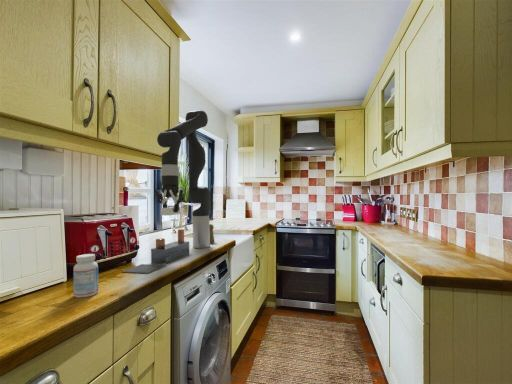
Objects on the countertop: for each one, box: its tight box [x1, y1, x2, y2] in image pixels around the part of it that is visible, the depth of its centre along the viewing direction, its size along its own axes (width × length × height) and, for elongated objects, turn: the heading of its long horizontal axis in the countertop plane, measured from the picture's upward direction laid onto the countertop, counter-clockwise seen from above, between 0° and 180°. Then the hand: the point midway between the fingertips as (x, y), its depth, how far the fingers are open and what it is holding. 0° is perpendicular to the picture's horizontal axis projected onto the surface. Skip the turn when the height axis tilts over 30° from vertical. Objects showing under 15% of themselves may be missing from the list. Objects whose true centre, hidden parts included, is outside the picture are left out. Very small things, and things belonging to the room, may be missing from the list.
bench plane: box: [150, 228, 190, 265], centre depth 123 cm, size 20×7×12 cm, turn 166°
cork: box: [209, 223, 215, 244], centre depth 164 cm, size 6×6×11 cm
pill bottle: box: [72, 253, 100, 299], centre depth 78 cm, size 6×6×11 cm
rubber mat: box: [121, 263, 166, 275], centre depth 105 cm, size 11×11×1 cm
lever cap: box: [160, 204, 181, 216], centre depth 123 cm, size 8×5×4 cm, turn 166°
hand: (170, 212), depth 123 cm, fingers closed on lever cap, 5 cm apart
